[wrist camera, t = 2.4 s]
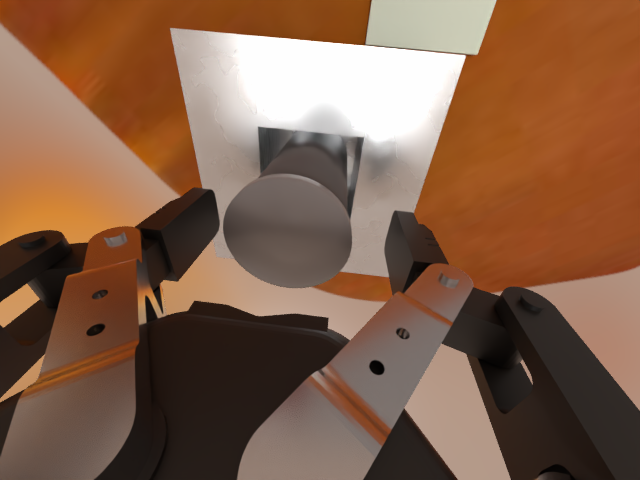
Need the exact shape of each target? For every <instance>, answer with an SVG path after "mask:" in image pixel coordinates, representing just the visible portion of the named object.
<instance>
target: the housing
mask: <svg viewBox="0 0 640 480" xmlns="http://www.w3.org/2000/svg"><path fill="white" fill-rule="evenodd" d="M170 31H171V36H172V41H173V46H174V50H175V55H176V60H177V65H178V70H179V75H180V80H181V85H182V90H183V95H184V100H185V104H186V109H187V114H188V119H189V124H190V129H191V134H192V139H193V144H194V149H195V153H196V158H197V163H198V168H199V173H200V178H201V183H202V188H203V189H211V190H213V191H214V193H215V197H216V202H217V208H218V214H219V220H220V227H219V231H218V233H217V234H216V235H215V237H214V238H213V242H214V247H215V252H216V256H217V257H223V258H231V259H235V258H234V257H233V256H232V254H231V252H230V251H229V249H228V247H227V244H226V242H225V238H224V233H223V220H224V215H225V212H226V210H227V207H228V206H229V204H230V202H231V201H232V200H233V198H234V197H235V196H236V195H237V194H238V193H239V192H240V191H241V190H242V188H244V187H245V186H246V185H247V184H249V183H250V182H252V181H254V180H255V179H258V177H259V176H260V175H261V174H262V172H263V171H264V170H265V169H266V168H267V166H268V165H269V164H270V163H271V162H272V160H273V159H274V158H275V157H276V155H277V154H278V153H279V152H280V151H281V149H282V148H283V147H284V146H285V144H286V143H287V142H288V141H289V140H290V138H291V137H292V136H293V135H294V134H295V133H296V132H297V131H306V132H316V133H326V134H336V135H339V136H340V137H341V138H342V140H343V142H344V144H345V146H346V150H347V213H348V216H349V218H350V222H351V227H352V249H351V253H350V256H349V258H348V261H347V263H346V264H345V266H344V267H343V268H342V270H341V272H350V273H358V274H367V275H375V276H384V277H389V274H388V269H387V264H386V259H385V254H384V246H385V240H386V236H387V233H388V229H389V225H390V222H391V218H392V215H393V212H394V211H395V210H398V211H407V212H413V213H414V211H415V208H416V205H417V202H418V199H419V196H420V193H421V190H422V187H423V184H424V181H425V178H426V175H427V172H428V169H429V166H430V163H431V160H432V156H433V153H434V150H435V147H436V144H437V141H438V138H439V135H440V132H441V129H442V126H443V123H444V120H445V117H446V114H447V111H448V108H449V105H450V102H451V99H452V96H453V93H454V90H455V87H456V84H457V81H458V78H459V75H460V72H461V69H462V66H463V63H464V60H465V57H466V55H456V54H446V53H435V52H424V51H413V50H402V49H392V48H381V47H370V46H359V45H348V44H338V43H327V42H316V41H305V40H294V39H284V38H273V37H262V36H251V35H240V34H230V33H219V32H208V31H197V30H186V29H176V28H170Z"/></svg>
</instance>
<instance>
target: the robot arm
mask: <svg viewBox="0 0 640 480" xmlns="http://www.w3.org/2000/svg"><path fill="white" fill-rule="evenodd" d="M219 227H220V220H219V214H218V208H217V202H216V197H215V193H214V191H213V190H211V189H203V188H192V189H191V190H190V191H188V192H187V193H186V194H184V195H183V196H182V197H180V198H178V199H175V200H173V201H170V202H169V203H167V204H166V205H165V206H163V207H162V208H160V209H159V210H158V211H156V213H154V214H152V215H151V216H149V217H148V218H147V219H145V220H144V221H142V222H141V223H140V224H138V225H137V226H135V227H128V226H127V227H126V226H125V227H116V228H111V229H107V230H105V231H102V232H100V233H98V234H96V235H95V236H93V237H92V238H91V239H90V240H89V242H88V243H75V244H69V243H68V242H67V240H66V238H65V237H64V235H63V234H62V233H61V232H59V231H53V230H46V231H39V232H33V233H29V234H25V235H22V236H20V237H17V238H15V239H13V240H11V241H9V242H7V243H5V244H3V245H1V246H0V302H1V301H2V300H3V299H5V298H7V297H8V296H9V295H11V294H12V293H14V292H15V291H17V290H18V289H20V288H21V287H22V286H23V285H25V284H28V285H29V286H30V287H31V289H32V290H33V291H34V292H35V294H36V295H37V296H38V297H39V298H40V300H39V301H37V302H36V303H35V304H33V305H32V306H31V307H30V308H28V309H27V310H26V311H25V312H23V313H22V314H21V315H20V316H18V317H17V318H16V319H14V320H13V321H12V322H11V323H9V324H8V325H7V326H6V327H4V328H3V327H2V326H1V325H0V398H1V397H2V396H3V395H4V394H5V393H6V392H7V391H8V390H9V389H10V388H11V387H12V386H13V385H14V384H15V383H16V382H17V381H18V380H19V379H20V378H21V377H22V376H23V375H24V374H25V373H26V372H27V371H28V370H29V369H30V368H31V367H32V366H33V365H34V364H35V363H36V362H37V361H38V360H39V359H40V358H41V357H42V356H43V355H44V354H45V356H44V360H43V363H42V367H41V371H40V374H39V377H38V379H37V380H36V382H35V383H33V384H32V385H30V386H28V387H27V388H26V389H25V390H23V391H21V392H19V393H17V394H15V395H13V396H11V397H10V398H8V399H6V400H4V401H2V402H0V480H458V479H457V478H456V477H455V475H454V474H453V473H452V471H451V470H450V469H449V467H448V466H447V465H446V464H445V462H444V461H443V459H442V458H441V457H440V455H439V454H438V453H437V451H436V450H435V449H434V447H433V446H432V445H431V443H430V442H429V441H428V439H427V438H426V437H425V435H424V434H423V433H422V431H421V430H420V429H419V427H418V426H417V425H416V423H415V422H414V421H413V419H412V418H411V417H410V415H409V414H408V413H407V411H406V410H405V409H404V407H405V406H406V404H407V402H408V400H409V399H410V397H411V395H412V394H413V392H414V390H415V388H416V386H417V385H418V383H419V381H420V379H421V378H422V376H423V374H424V373H425V371H426V369H427V367H428V366H429V364H430V362H431V360H432V359H433V357H434V355H435V354H436V352H437V350H438V348H439V347H440V345H441V343H442V344H444V345H447V346H449V347H451V348H454V349H456V350H459V351H461V352H464V353H466V354H467V357H468V360H469V363H470V366H471V368H472V371H473V374H474V377H475V380H476V382H477V385H478V388H479V391H480V394H481V396H482V399H483V402H484V405H485V408H486V411H487V413H488V416H489V419H490V422H491V424H492V427H493V430H494V433H495V436H496V439H497V441H498V444H499V447H500V450H501V453H502V456H503V458H504V461H505V464H506V467H507V470H508V472H509V475H510V478H511V480H640V411H639V410H638V408H637V407H636V406H635V405H634V403H633V402H632V401H631V400H630V399H629V397H628V396H627V395H626V393H625V392H624V391H623V390H622V388H621V387H620V386H619V385H618V384H617V382H616V381H615V380H614V379H613V377H612V376H611V375H610V374H609V372H608V371H607V370H606V369H605V368H604V366H603V365H602V364H601V363H600V362H599V360H598V359H597V358H596V357H595V355H594V354H593V353H592V351H591V350H590V349H589V348H588V347H587V345H586V344H585V343H584V342H583V340H582V339H581V338H580V337H579V336H578V334H577V333H576V332H575V331H574V329H573V328H572V327H571V326H570V325H569V323H568V322H567V321H566V319H565V318H564V317H563V316H562V314H561V313H560V312H559V311H558V310H557V308H556V307H555V306H554V305H553V304H552V303H551V302H549V301H548V300H547V299H545V298H544V297H542V296H541V295H539V294H537V293H535V292H533V291H530V290H528V289H525V288H521V287H508V288H506V289H505V290H504V291H503V292H502V294H501V295H500V296H498V295H495V294H491V293H488V292H485V291H482V290H479V289H477V288H474V287H473V283H472V280H471V279H470V278H469V276H468V275H467V274H465V273H464V272H463V271H461V270H460V269H458V268H456V267H453V266H451V265H449V263H448V262H447V260H446V258H445V256H444V254H443V252H442V250H441V248H440V247H439V244H438V242H437V241H436V239H435V237H434V235H433V233H432V231H431V230H429V229H428V228H427V227H426V226H425V225H423V224H418V222H417V220H416V218H415V216H414V213H413V212H407V211H398V210H395V211H394V212H393V215H392V218H391V222H390V225H389V229H388V233H387V236H386V240H385V246H384V254H385V259H386V264H387V269H388V274H389V279H390V284H391V289H392V294H393V296H392V297H391V298H390V299H389V300H388V301H387V303H386V304H385V305H384V306H383V307H382V308H381V309H380V310H379V311H378V312H377V313H376V314H375V315H374V316H373V317H372V318H371V319H370V320H369V321H368V322H367V324H366V325H365V326H364V327H363V328H362V329H361V330H360V331H359V332H358V333H357V334H356V335H355V336H354V337H353V338H352V339H351V340H348V339H347V338H346V337H344V336H342V335H341V334H339V333H337V332H335V331H333V330H330V329H328V318H326V317H317V316H310V315H302V314H284V315H273V316H255V315H252V314H250V313H247V312H244V311H242V310H239V309H237V308H234V307H231V306H229V305H223V304H216V303H209V302H208V303H207V302H201V301H194V302H193V304H192V305H191V307H190V309H189V310H188V311H185V312H179V313H174V314H171V315H166V308H165V301H164V295H163V289H162V286H161V284H160V283H161V282H162V281H163V280H169V281H179V279H180V278H181V277H182V276H183V274H184V273H185V272H186V271H187V270H188V268H189V267H190V266H191V265H192V264H193V262H194V261H195V260H196V259H197V257H198V256H199V255H200V254H201V253H202V251H203V250H204V249H205V248H206V246H207V245H208V244H209V243H210V241H211V240H212V239H213V238H214V237H215V235H216V234H217V233H218V231H219ZM521 360H524V362H525V364H526V366H527V368H528V370H529V371H530V374H531V376H532V381H533V385H532V383H531V382H530V379H529V378H528V376H527V374H526V372H525V370H524V368H523V366H522V364H521V363H520V362H521Z"/></svg>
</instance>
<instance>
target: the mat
mask: <svg viewBox="0 0 640 480" xmlns="http://www.w3.org/2000/svg"><path fill="white" fill-rule="evenodd" d="M495 3H496V0H371V7H370V14H369V21H368V28H367V35H366V42H365V45H369V46H380V47H391V48H401V49H412V50H423V51H434V52H445V53H455V54H466V55H477V54H478V51H479V49H480V46H481V43H482V40H483V37H484V34H485V32H486V29H487V26H488V23H489V20H490V17H491V15H492V12H493V9H494V6H495Z"/></svg>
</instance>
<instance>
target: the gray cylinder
mask: <svg viewBox="0 0 640 480" xmlns="http://www.w3.org/2000/svg"><path fill="white" fill-rule="evenodd" d="M223 233H224V238H225V242H226V244H227V247H228V249H229V251H230V252H231V254H232V256H233V257H234V258H235V260H236V261H237V262H238V263H239V264H240V265H241V266H242V267H243V268H244V269H245V270H246V271H248V272H249V273H250V274H252V275H253V276H255V277H257V278H258V279H260V280H263V281H265V282H267V283H270V284H273V285H276V286H280V287H287V288H305V287H312V286H316V285H319V284H322V283H324V282H326V281H328V280H330V279H331V278H333V277H334V276H335V275H337V274H338V273H339V272H340V271H341V270H342V268H343V267H344V266H345V264H346V263H347V261H348V258H349V256H350V253H351V249H352V227H351V222H350V218H349V216H348V213H347V150H346V146H345V144H344V142H343V140H342V138H341V137H340V136H339V135H336V134H326V133H316V132H306V131H297V132H296V133H295V134H294V135H293V136H292V137H291V138H290V140H289V141H288V142H287V143H286V144H285V146H284V147H283V148H282V149H281V151H280V152H279V153H278V154H277V155H276V157H275V158H274V159H273V160H272V162H271V163H270V164H269V165H268V166H267V168H266V169H265V170H264V171H263V172H262V174H261V175H260V176H259V177H258V179H255V180H254V181H252V182H250V183H249V184H247V185H246V186H245V187H244V188H242V190H241V191H240V192H239V193H238V194H237V195H236V196H235V197H234V198H233V200H232V201H231V202H230V204H229V206H228V207H227V210H226V212H225V215H224V220H223Z"/></svg>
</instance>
